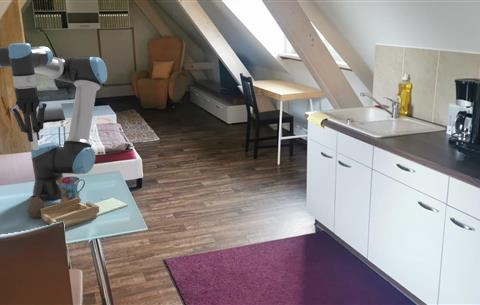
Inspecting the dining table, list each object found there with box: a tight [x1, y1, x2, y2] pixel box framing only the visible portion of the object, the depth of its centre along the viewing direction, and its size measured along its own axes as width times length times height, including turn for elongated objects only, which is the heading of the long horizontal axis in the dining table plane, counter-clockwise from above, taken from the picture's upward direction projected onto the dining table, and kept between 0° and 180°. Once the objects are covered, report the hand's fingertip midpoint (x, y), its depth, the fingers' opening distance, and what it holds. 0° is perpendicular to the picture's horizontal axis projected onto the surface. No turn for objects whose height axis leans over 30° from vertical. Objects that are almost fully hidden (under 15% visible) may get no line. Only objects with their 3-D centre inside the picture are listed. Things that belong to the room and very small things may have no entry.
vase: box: [26, 195, 47, 220], centre depth 190 cm, size 7×7×9 cm
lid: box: [85, 197, 128, 217], centre depth 199 cm, size 12×15×4 cm
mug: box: [56, 176, 86, 203], centre depth 204 cm, size 12×9×11 cm
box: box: [40, 198, 98, 229], centre depth 188 cm, size 14×16×5 cm
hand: (35, 149), depth 180 cm, fingers closed
